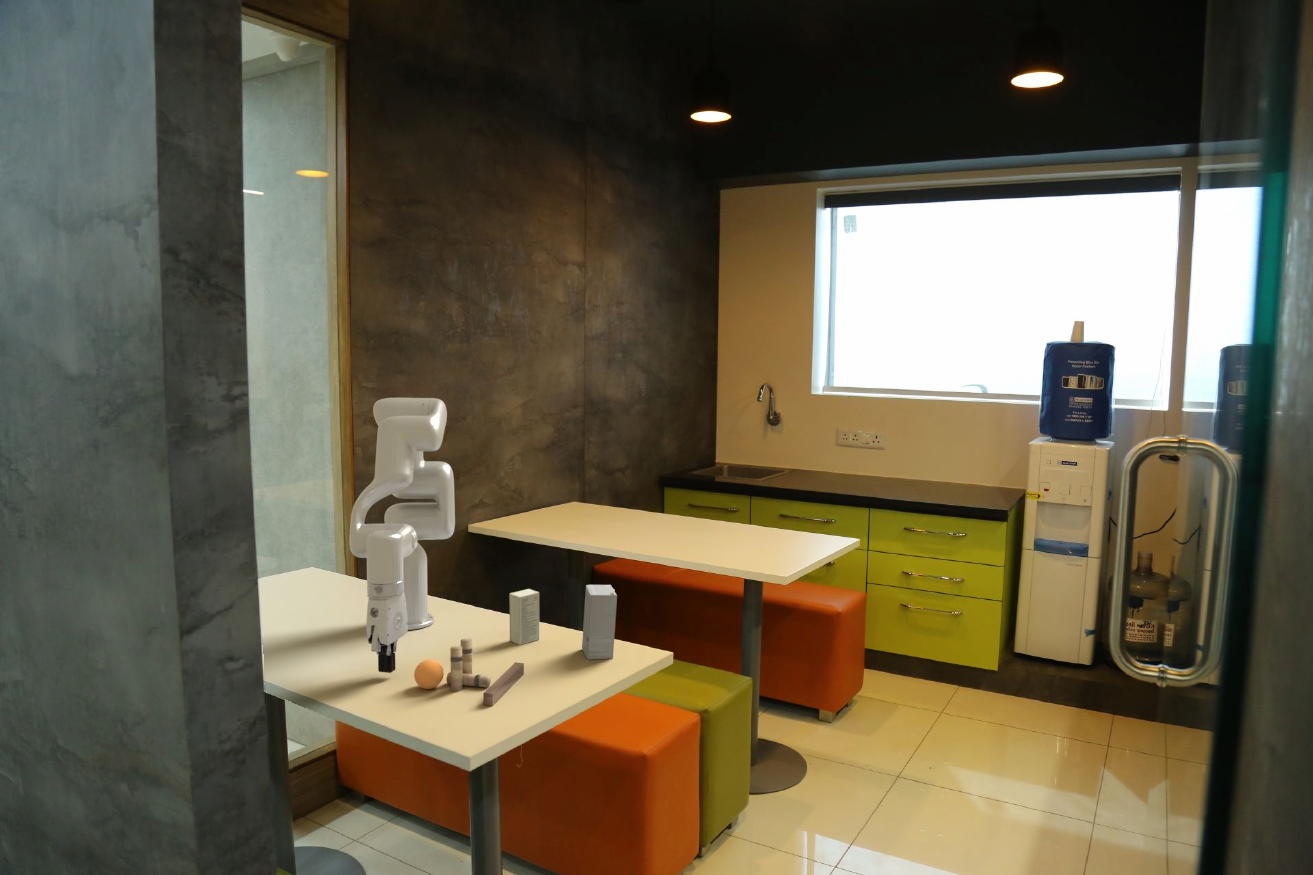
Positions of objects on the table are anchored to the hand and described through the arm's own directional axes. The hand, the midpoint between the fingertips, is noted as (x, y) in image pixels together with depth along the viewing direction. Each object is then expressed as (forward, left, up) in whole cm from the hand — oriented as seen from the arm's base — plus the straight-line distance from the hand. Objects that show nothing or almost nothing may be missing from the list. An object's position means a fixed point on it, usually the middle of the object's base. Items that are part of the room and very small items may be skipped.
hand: (386, 670), depth 190 cm
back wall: (+23, +14, -2) cm, 27 cm away
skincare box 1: (+2, +37, -2) cm, 37 cm away
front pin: (+12, +7, 0) cm, 14 cm away
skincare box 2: (+22, +43, -2) cm, 48 cm away
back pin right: (+16, +6, -2) cm, 18 cm away
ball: (+12, +3, +2) cm, 12 cm away
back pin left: (+14, +11, -2) cm, 18 cm away
